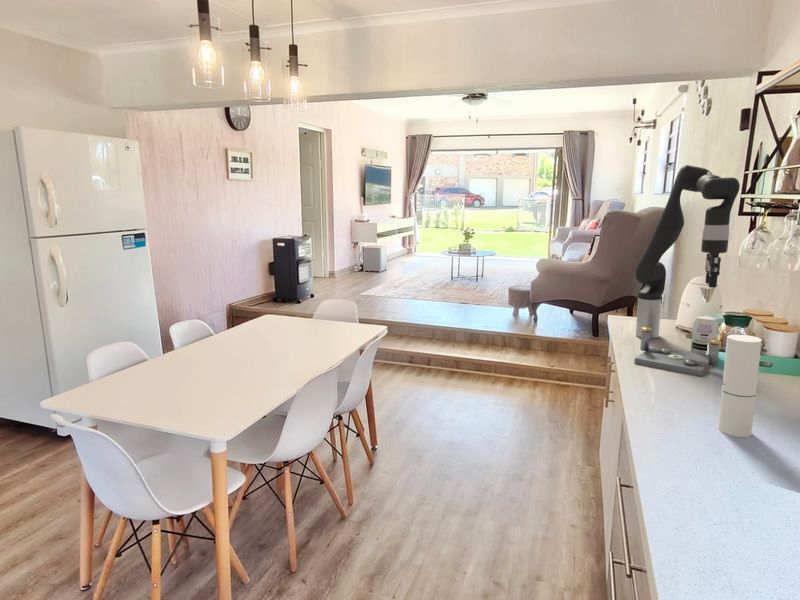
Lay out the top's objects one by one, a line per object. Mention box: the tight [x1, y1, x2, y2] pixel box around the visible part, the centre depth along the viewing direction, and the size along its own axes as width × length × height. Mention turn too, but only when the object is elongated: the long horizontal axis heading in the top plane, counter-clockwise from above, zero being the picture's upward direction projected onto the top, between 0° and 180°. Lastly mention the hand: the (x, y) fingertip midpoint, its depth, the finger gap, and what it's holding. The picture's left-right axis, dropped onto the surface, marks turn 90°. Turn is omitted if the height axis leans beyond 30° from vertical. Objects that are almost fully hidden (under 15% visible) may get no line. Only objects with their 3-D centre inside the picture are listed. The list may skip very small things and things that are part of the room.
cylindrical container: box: [718, 334, 763, 438], centre depth 126 cm, size 7×7×25 cm
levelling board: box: [633, 346, 712, 377], centre depth 183 cm, size 20×22×2 cm
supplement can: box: [690, 315, 719, 355], centre depth 189 cm, size 8×8×15 cm
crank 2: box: [683, 339, 722, 367], centre depth 173 cm, size 11×4×9 cm, turn 67°
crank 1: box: [639, 327, 671, 354], centre depth 189 cm, size 11×4×9 cm, turn 66°
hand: (710, 285), depth 170 cm, fingers open, 8 cm apart
